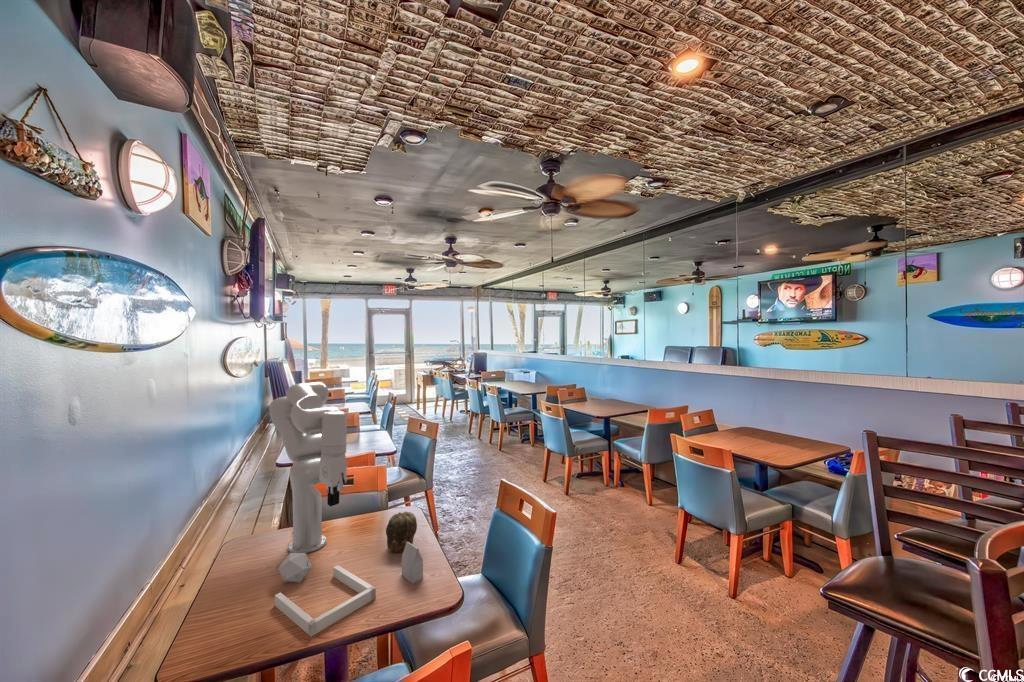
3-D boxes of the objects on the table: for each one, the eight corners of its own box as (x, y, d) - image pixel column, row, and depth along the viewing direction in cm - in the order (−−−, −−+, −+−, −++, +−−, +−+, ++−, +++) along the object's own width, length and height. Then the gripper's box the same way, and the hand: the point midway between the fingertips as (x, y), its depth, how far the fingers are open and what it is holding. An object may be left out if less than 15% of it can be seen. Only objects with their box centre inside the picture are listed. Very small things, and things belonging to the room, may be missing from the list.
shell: (422, 547, 147) (422, 514, 147) (393, 557, 140) (393, 523, 140) (409, 536, 155) (408, 505, 155) (381, 545, 148) (381, 513, 148)
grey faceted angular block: (412, 583, 125) (412, 551, 125) (401, 574, 130) (401, 543, 130) (423, 578, 127) (422, 547, 127) (411, 569, 132) (411, 539, 132)
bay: (274, 605, 115) (274, 595, 115) (337, 574, 130) (337, 565, 130) (311, 636, 102) (310, 624, 102) (375, 598, 118) (375, 587, 118)
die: (287, 593, 121) (308, 563, 124) (267, 575, 123) (288, 546, 126) (301, 587, 129) (321, 559, 131) (282, 571, 131) (302, 543, 134)
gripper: (311, 446, 134) (311, 501, 134) (333, 456, 124) (333, 515, 125) (334, 442, 139) (333, 494, 140) (356, 451, 130) (355, 507, 130)
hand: (333, 504), depth 132 cm, fingers closed
